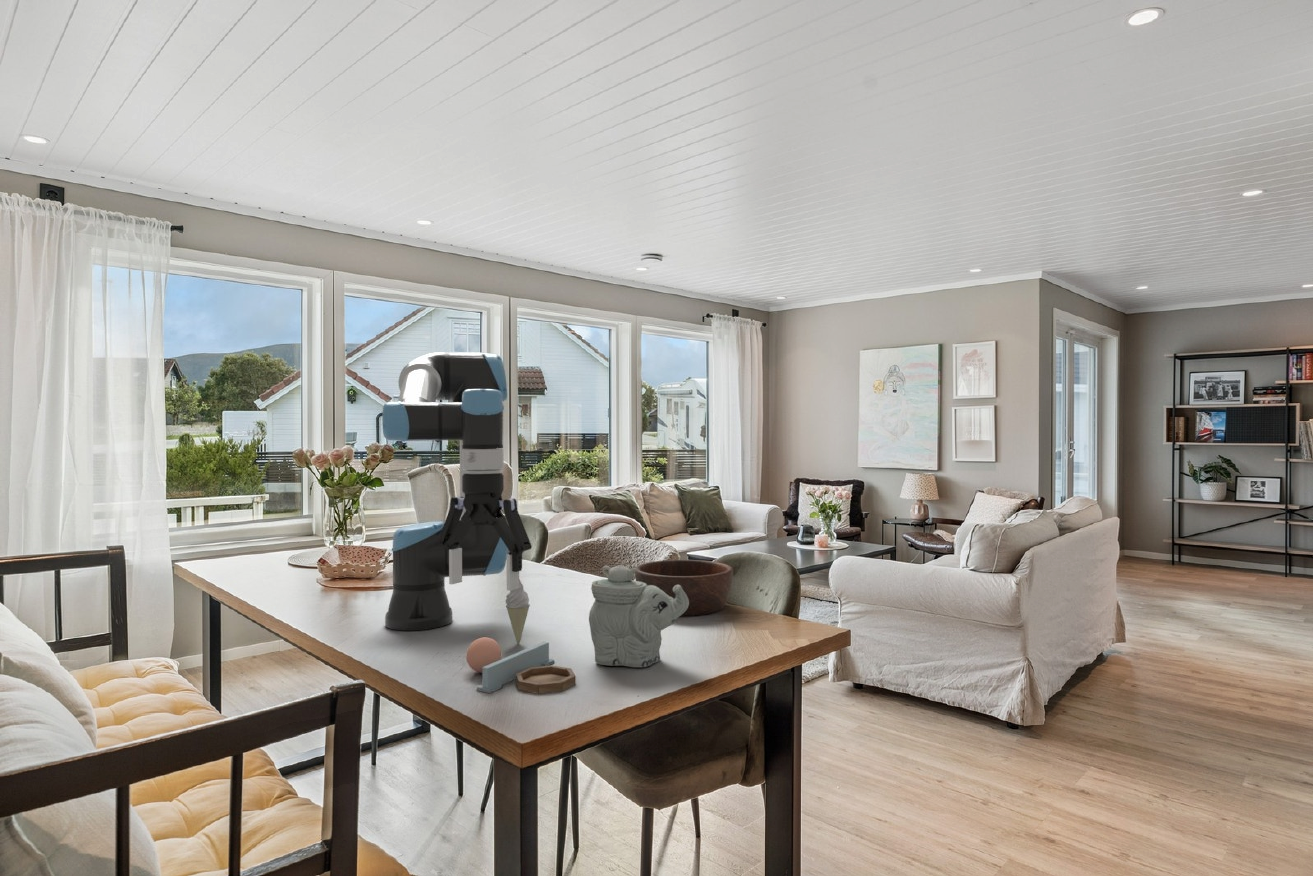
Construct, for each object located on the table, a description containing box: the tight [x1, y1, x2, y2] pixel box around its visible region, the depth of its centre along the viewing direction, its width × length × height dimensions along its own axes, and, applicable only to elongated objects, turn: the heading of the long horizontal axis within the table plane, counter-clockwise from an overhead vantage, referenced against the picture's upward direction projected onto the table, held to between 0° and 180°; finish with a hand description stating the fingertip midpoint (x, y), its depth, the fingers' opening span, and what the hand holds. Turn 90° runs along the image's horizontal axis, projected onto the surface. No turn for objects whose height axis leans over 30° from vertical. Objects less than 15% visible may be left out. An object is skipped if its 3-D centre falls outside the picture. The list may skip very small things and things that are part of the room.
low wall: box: [476, 641, 555, 694], centre depth 139 cm, size 3×19×4 cm, turn 153°
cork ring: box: [515, 665, 577, 694], centre depth 135 cm, size 10×10×2 cm
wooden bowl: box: [634, 559, 734, 617], centre depth 193 cm, size 25×25×10 cm
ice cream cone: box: [505, 578, 531, 645], centre depth 160 cm, size 5×5×15 cm
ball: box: [465, 636, 502, 674], centre depth 142 cm, size 6×6×6 cm
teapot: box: [588, 564, 689, 668], centre depth 147 cm, size 16×15×19 cm
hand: (483, 586), depth 141 cm, fingers open, 13 cm apart
